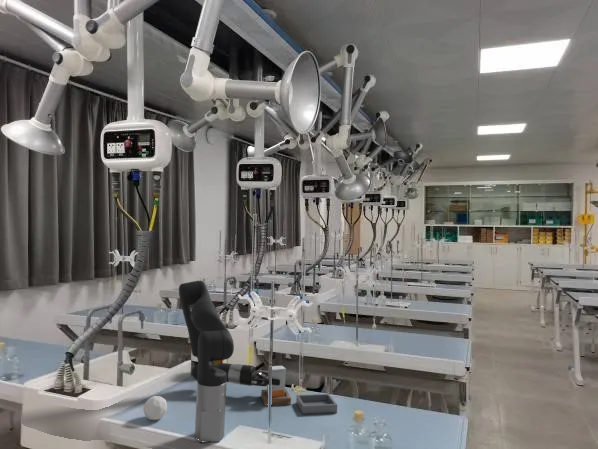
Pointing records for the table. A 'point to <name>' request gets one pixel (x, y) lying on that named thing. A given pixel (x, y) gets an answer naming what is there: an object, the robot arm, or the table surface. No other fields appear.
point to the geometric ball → (155, 408)
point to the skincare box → (280, 373)
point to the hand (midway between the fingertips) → (282, 379)
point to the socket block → (276, 399)
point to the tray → (316, 404)
